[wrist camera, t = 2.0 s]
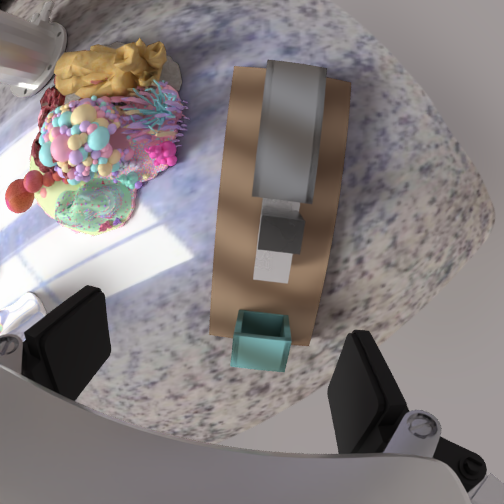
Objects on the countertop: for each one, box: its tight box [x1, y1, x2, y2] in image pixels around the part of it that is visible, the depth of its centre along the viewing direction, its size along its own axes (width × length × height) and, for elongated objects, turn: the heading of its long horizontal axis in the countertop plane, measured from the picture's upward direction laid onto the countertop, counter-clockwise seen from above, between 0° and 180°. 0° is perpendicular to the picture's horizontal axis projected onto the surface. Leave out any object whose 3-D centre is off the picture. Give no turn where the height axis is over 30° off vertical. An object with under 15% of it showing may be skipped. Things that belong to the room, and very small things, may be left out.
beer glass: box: [0, 292, 46, 341], centre depth 29 cm, size 7×7×15 cm
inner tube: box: [253, 198, 305, 283], centre depth 22 cm, size 19×3×8 cm, turn 174°
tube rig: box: [209, 60, 351, 372], centre depth 26 cm, size 30×12×7 cm, turn 174°
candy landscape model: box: [5, 38, 190, 236], centre depth 24 cm, size 25×24×9 cm
